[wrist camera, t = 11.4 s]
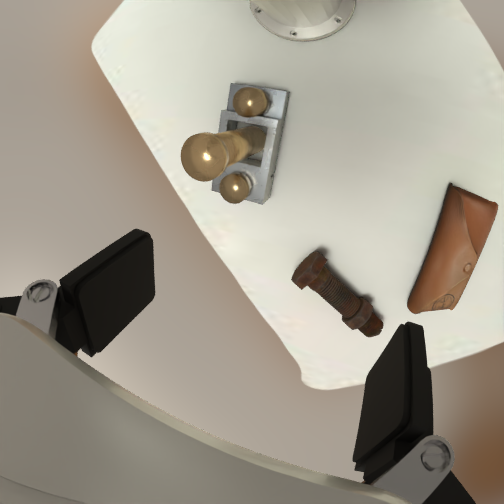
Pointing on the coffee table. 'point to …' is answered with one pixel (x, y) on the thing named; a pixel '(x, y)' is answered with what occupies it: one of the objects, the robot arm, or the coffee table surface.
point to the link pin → (219, 151)
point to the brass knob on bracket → (260, 172)
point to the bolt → (337, 295)
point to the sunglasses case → (453, 251)
